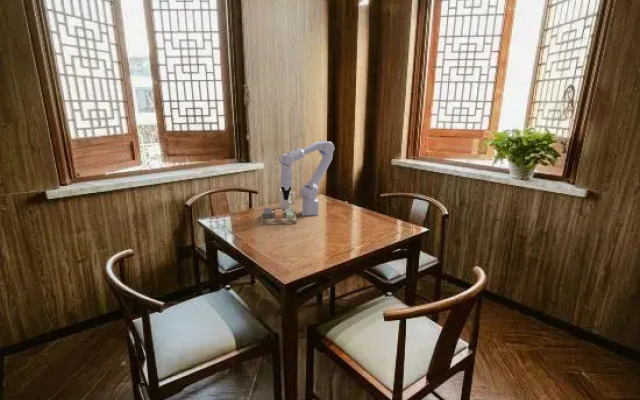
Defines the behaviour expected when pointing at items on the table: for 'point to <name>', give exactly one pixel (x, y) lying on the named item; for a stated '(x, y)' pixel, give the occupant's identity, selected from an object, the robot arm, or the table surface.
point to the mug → (286, 201)
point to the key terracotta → (278, 214)
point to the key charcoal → (267, 213)
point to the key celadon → (289, 214)
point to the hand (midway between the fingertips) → (285, 199)
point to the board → (278, 221)
